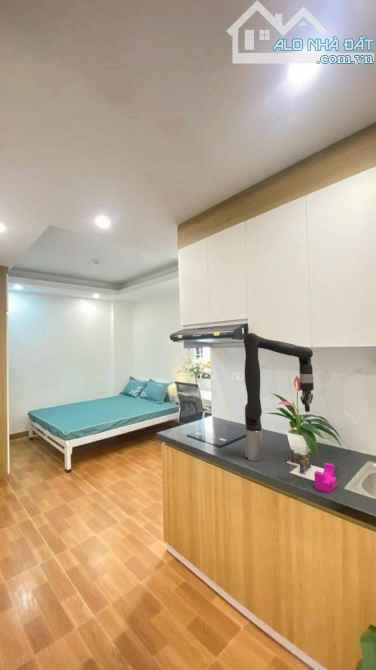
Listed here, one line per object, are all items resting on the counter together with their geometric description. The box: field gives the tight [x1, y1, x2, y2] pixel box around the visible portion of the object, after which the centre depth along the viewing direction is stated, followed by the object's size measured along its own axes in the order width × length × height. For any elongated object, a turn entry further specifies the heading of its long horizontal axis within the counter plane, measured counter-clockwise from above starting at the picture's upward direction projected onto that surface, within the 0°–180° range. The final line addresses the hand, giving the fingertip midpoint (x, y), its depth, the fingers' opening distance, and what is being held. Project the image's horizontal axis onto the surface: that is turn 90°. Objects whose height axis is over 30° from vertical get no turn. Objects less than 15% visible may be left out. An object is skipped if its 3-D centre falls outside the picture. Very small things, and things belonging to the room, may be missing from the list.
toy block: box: [314, 462, 338, 494], centre depth 133 cm, size 15×6×8 cm, turn 134°
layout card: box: [286, 459, 324, 482], centre depth 149 cm, size 22×16×1 cm
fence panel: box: [300, 458, 309, 473], centre depth 148 cm, size 9×2×6 cm, turn 135°
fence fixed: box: [290, 449, 312, 467], centre depth 155 cm, size 11×2×7 cm, turn 44°
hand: (307, 411), depth 159 cm, fingers closed
